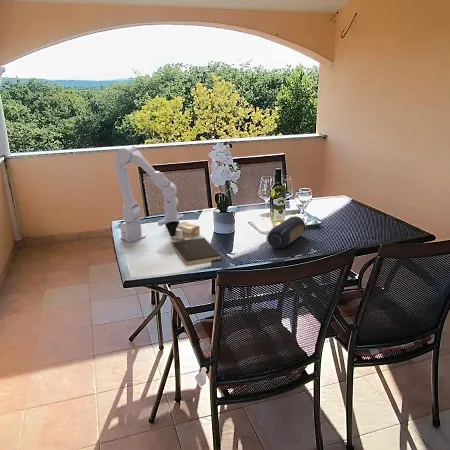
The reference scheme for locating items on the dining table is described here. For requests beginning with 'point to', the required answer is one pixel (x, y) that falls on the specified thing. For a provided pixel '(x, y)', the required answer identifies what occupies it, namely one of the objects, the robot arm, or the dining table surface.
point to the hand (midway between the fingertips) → (172, 236)
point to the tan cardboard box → (189, 230)
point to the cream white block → (179, 234)
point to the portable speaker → (286, 232)
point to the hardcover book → (196, 250)
